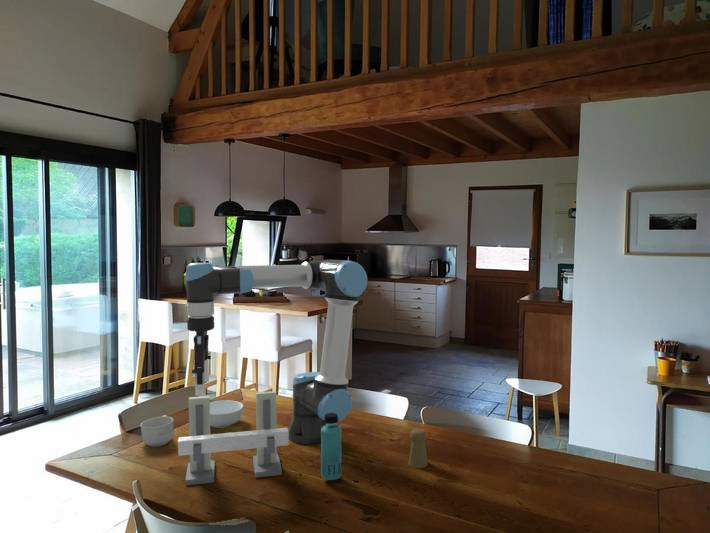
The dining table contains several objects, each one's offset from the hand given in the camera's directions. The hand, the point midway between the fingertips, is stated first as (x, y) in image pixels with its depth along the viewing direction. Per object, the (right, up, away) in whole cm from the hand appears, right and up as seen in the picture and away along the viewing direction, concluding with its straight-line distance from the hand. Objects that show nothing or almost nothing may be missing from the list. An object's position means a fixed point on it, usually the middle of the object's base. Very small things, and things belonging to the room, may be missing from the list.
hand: (202, 388), depth 153 cm
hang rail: (+11, -16, -6) cm, 20 cm away
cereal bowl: (-7, -26, +48) cm, 55 cm away
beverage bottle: (+38, -28, +3) cm, 47 cm away
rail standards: (+9, -28, +3) cm, 30 cm away
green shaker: (+65, -28, +14) cm, 72 cm away
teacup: (-24, -27, +32) cm, 48 cm away
